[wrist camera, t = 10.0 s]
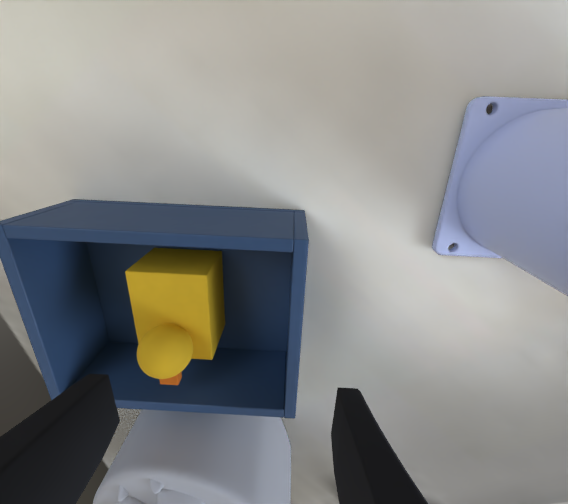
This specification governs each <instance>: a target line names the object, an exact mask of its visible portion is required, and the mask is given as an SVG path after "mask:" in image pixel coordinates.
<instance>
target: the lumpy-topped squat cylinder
mask: <svg viewBox="0 0 568 504" xmlns="http://www.w3.org/2000/svg"><path fill="white" fill-rule="evenodd" d="M290 496H291V446H290V441H289V438H288V435H287V432H286V429H285V427H284V424H283V422H282V420H281V418H280V417H264V416H247V415H230V414H213V413H196V412H179V411H162V410H145V409H142V410H141V412H140V414H139V416H138V418H137V419H136V421H135V423H134V425H133V427H132V428H131V430H130V432H129V434H128V436H127V437H126V439H125V441H124V443H123V445H122V447H121V448H120V450H119V452H118V454H117V456H116V457H115V459H114V461H113V463H112V465H111V466H110V468H109V470H108V472H107V474H106V476H105V477H104V479H103V481H102V483H101V485H100V486H99V489H98V490H97V492H96V495H95V498H94V501H93V504H290Z"/></svg>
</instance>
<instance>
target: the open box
mask: <svg viewBox="0 0 568 504" xmlns="http://www.w3.org/2000/svg"><path fill="white" fill-rule="evenodd" d="M308 244H309V239H308V232H307V224H306V217H305V211H304V210H290V209H268V208H247V207H226V206H205V205H184V204H162V203H141V202H120V201H99V200H78V199H73V200H70V201H66V202H63V203H60V204H56V205H53V206H49V207H46V208H43V209H39V210H36V211H32V212H29V213H26V214H22V215H19V216H15V217H12V218H9V219H5V220H2V221H0V259H1V261H2V264H3V267H4V270H5V272H6V275H7V278H8V281H9V284H10V286H11V289H12V292H13V295H14V297H15V300H16V303H17V306H18V309H19V311H20V314H21V317H22V320H23V322H24V325H25V328H26V331H27V334H28V336H29V339H30V342H31V345H32V347H33V350H34V353H35V356H36V359H37V361H38V364H39V367H40V370H41V372H42V375H43V378H44V381H45V383H46V386H47V389H48V392H49V395H50V397H51V400H53V399H54V398H55V397H57V396H58V395H60V394H61V393H62V392H64V391H65V390H66V389H68V388H69V387H71V386H72V385H73V384H75V383H76V382H78V381H79V380H81V379H82V378H84V377H85V376H86V375H88V374H106V375H109V379H110V383H111V387H112V391H113V395H114V399H115V403H116V407H117V408H127V409H145V410H162V411H179V412H196V413H213V414H230V415H247V416H264V417H282V418H283V417H284V418H295V413H296V400H297V387H298V374H299V361H300V348H301V335H302V322H303V309H304V296H305V283H306V270H307V257H308ZM153 248H172V249H192V250H212V251H222V264H223V286H224V309H225V326H224V329H223V332H222V335H221V337H220V340H219V343H218V346H217V348H216V351H215V354H214V357H213V359H212V360H208V359H191V360H190V362H189V364H188V365H187V366H186V368H185V369H184V370H183V371H182V378H181V380H180V383H179V385H165V384H160V381H159V379H156V378H153V377H150V376H148V375H147V374H145V373H144V372H143V371H142V369H141V368H140V366H139V364H138V361H137V349H138V345H139V344H138V339H137V333H136V328H135V322H134V317H133V312H132V306H131V301H130V296H129V290H128V285H127V280H126V274H125V271H126V270H127V269H129V268H130V267H131V266H132V265H133V264H135V263H136V262H137V261H138V260H140V259H141V258H142V257H143V256H145V255H146V254H147V253H148V252H150V251H151V250H152V249H153Z"/></svg>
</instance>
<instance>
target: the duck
mask: <svg viewBox="0 0 568 504" xmlns="http://www.w3.org/2000/svg"><path fill="white" fill-rule="evenodd" d="M125 274H126V280H127V285H128V290H129V296H130V301H131V306H132V312H133V317H134V322H135V328H136V333H137V339H138V344H139V345H138V349H137V361H138V364H139V366H140V368H141V369H142V371H143V372H144V373H145V374H147V375H148V376H150V377H153V378H156V379H159V381H160V384H165V385H179V383H180V380H181V378H182V371H183V370H184V369H185V368H186V366H187V365H188V364H189V362H190V360H191V359H208V360H212V359H213V357H214V354H215V351H216V348H217V346H218V343H219V340H220V337H221V335H222V332H223V329H224V326H225V309H224V286H223V264H222V251H212V250H192V249H172V248H153V249H152V250H151V251H150V252H148V253H147V254H146V255H145V256H143V257H142V258H141V259H140V260H138V261H137V262H136V263H135V264H133V265H132V266H131V267H130V268H129V269H127V270H126V271H125Z"/></svg>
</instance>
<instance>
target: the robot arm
mask: <svg viewBox="0 0 568 504" xmlns="http://www.w3.org/2000/svg"><path fill="white" fill-rule="evenodd" d="M489 104H491V105H492V106H493V108H492V111H491V113H490V114H487V112H486V108H487V106H488V105H489ZM452 243H454V247H453V248H452V249H448V247H449V245H450V244H452ZM432 248H433V250H434V251H435V252H436V253H437V254H439V255H451V256H471V257H492V258H504V259H506V260H507V261H509V262H511V263H512V264H514V265H516V266H518V267H519V268H521V269H523V270H524V271H526V272H528V273H529V274H531V275H533V276H534V277H536V278H538V279H539V280H541V281H543V282H545V283H546V284H548V285H550V286H551V287H553V288H555V289H556V290H558V291H560V292H561V293H563V294H565V295H567V296H568V100H563V99H538V98H514V97H489V96H483V97H477V98H474V99H473V100H471V101H470V103H469V104H468V106H467V108H466V112H465V116H464V120H463V124H462V128H461V132H460V136H459V140H458V144H457V148H456V152H455V156H454V160H453V164H452V168H451V172H450V176H449V180H448V184H447V188H446V192H445V196H444V200H443V204H442V208H441V212H440V216H439V220H438V224H437V228H436V232H435V236H434V240H433V244H432ZM119 421H120V420H119V416H118V412H117V407H116V403H115V399H114V395H113V391H112V387H111V383H110V379H109V375H106V374H88V375H86V376H85V377H84V378H82V379H81V380H79V381H78V382H76V383H75V384H73V385H72V386H71V387H69V388H68V389H66V390H65V391H64V392H62V393H61V394H60V395H58V396H57V397H55V398H54V399H53V400H51V401H50V402H49V403H47V404H46V405H44V406H43V407H42V408H40V409H39V410H37V411H36V412H35V413H33V414H32V415H30V416H29V417H28V418H26V419H25V420H23V421H22V422H21V423H19V424H18V425H16V426H15V427H14V428H12V429H11V430H9V431H8V432H7V433H5V434H4V435H2V436H1V437H0V504H76V502H77V501H78V499H79V497H80V496H81V494H82V492H83V491H84V489H85V487H86V485H87V484H88V482H89V480H90V479H91V477H92V475H93V474H94V472H95V470H96V468H97V467H98V465H99V463H100V462H101V460H102V458H103V456H104V454H105V452H106V450H107V448H108V446H109V444H110V442H111V439H112V437H113V435H114V433H115V430H116V428H117V426H118V424H119ZM331 438H332V451H333V464H334V474H335V480H336V486H337V492H338V498H339V504H428V503H427V501H426V500H425V498H424V497H423V495H422V494H421V492H420V491H419V489H418V488H417V486H416V485H415V483H414V482H413V480H412V479H411V477H410V476H409V474H408V473H407V471H406V470H405V468H404V467H403V465H402V463H401V462H400V460H399V459H398V457H397V455H396V454H395V452H394V451H393V449H392V447H391V446H390V444H389V442H388V441H387V439H386V437H385V436H384V434H383V432H382V431H381V429H380V427H379V425H378V424H377V422H376V420H375V418H374V416H373V415H372V413H371V411H370V409H369V407H368V405H367V403H366V402H365V400H364V398H363V396H362V394H361V392H360V391H359V390H358V389H353V388H338V390H337V397H336V404H335V411H334V417H333V424H332V431H331Z"/></svg>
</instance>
